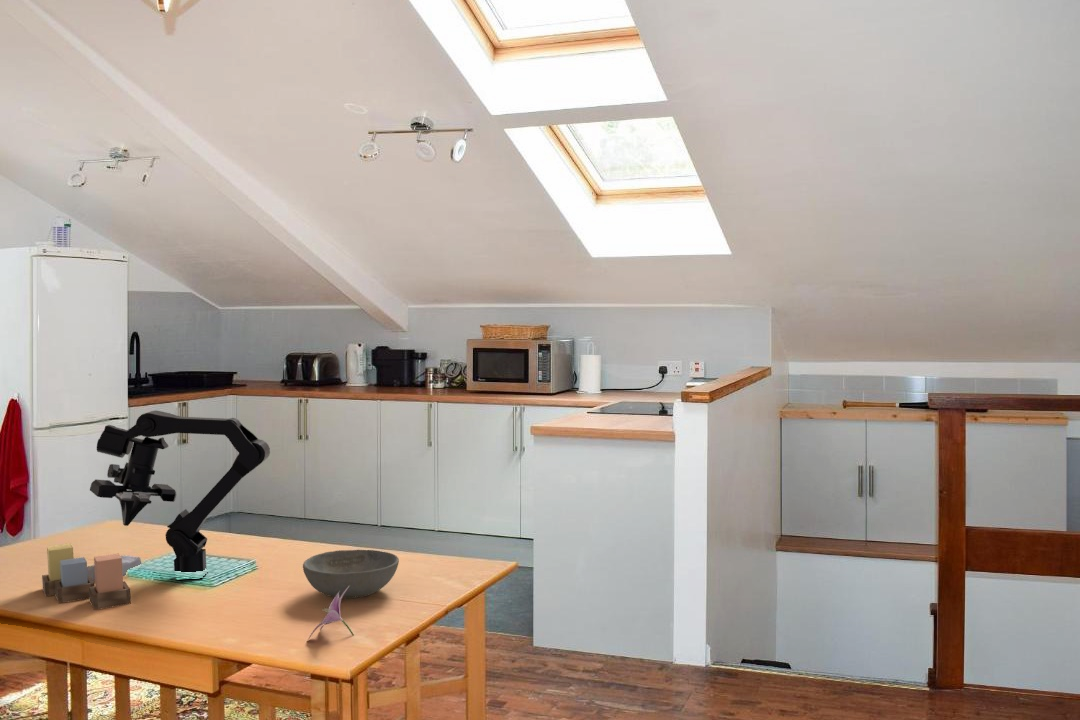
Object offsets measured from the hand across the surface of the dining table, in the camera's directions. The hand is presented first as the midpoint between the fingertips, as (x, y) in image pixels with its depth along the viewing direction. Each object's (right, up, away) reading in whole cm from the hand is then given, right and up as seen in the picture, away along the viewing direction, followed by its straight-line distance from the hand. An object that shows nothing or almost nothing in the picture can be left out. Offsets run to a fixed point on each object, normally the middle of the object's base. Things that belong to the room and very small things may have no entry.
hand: (125, 525), depth 224 cm
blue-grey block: (-6, -14, -11) cm, 19 cm away
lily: (+59, -14, -41) cm, 73 cm away
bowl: (+57, -13, -15) cm, 61 cm away
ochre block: (-12, -11, -6) cm, 18 cm away
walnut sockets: (-4, -14, -11) cm, 19 cm away
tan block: (+4, -12, -17) cm, 21 cm away
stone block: (-6, -14, +7) cm, 17 cm away
